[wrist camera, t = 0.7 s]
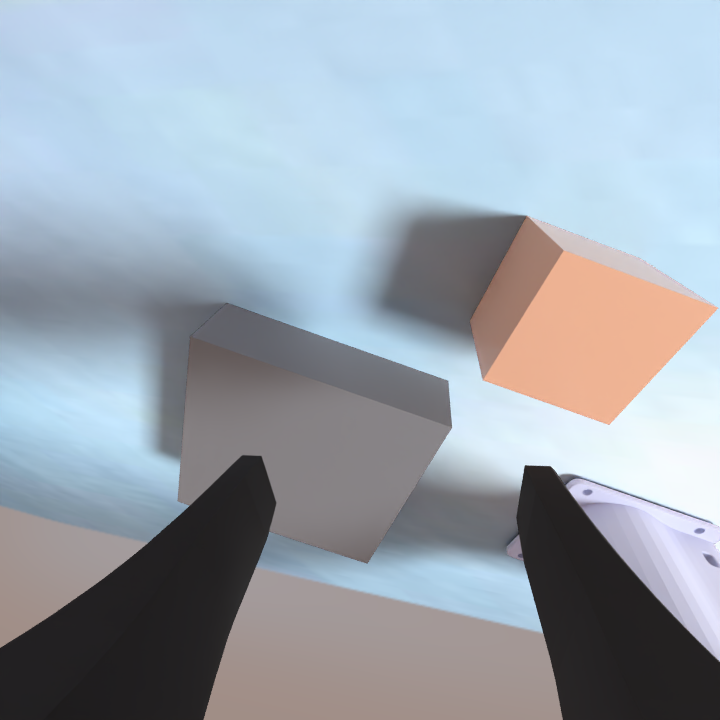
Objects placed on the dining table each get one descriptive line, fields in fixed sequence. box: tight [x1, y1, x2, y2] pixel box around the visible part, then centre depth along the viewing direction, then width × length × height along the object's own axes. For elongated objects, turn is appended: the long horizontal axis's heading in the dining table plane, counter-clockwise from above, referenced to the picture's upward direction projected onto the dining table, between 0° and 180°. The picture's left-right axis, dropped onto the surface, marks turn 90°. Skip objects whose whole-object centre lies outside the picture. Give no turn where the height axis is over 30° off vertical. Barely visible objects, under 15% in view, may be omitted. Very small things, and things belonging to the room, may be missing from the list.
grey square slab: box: [178, 303, 452, 563], centre depth 22 cm, size 12×12×4 cm
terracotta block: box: [470, 216, 718, 425], centre depth 15 cm, size 5×5×5 cm
